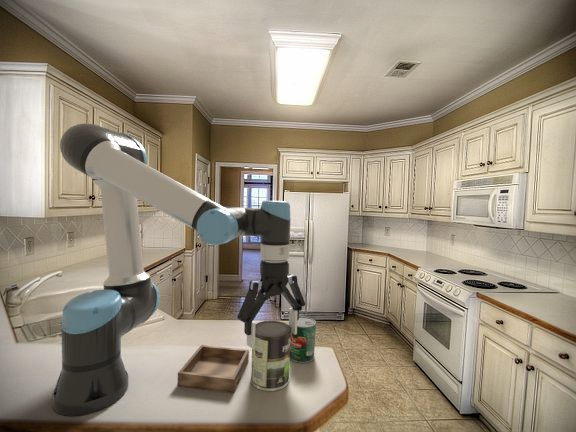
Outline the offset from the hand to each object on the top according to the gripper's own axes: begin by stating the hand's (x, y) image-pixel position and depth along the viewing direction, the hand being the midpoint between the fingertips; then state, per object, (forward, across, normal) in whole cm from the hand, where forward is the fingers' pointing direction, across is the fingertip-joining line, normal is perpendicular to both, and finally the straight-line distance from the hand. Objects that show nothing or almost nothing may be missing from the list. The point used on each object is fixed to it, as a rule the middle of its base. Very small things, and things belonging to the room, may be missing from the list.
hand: (272, 339), depth 80 cm
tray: (+11, -11, +11) cm, 19 cm away
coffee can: (+11, 0, 0) cm, 11 cm away
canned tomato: (+11, +14, +5) cm, 19 cm away
